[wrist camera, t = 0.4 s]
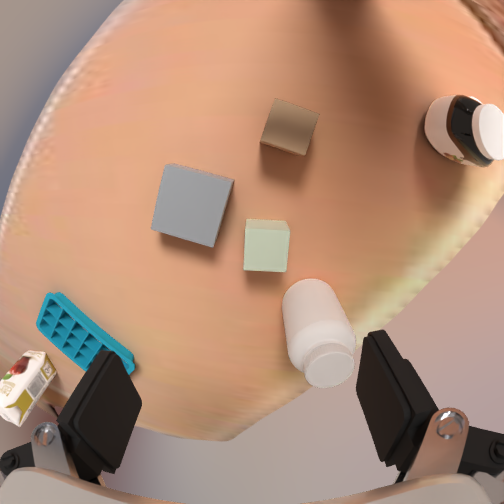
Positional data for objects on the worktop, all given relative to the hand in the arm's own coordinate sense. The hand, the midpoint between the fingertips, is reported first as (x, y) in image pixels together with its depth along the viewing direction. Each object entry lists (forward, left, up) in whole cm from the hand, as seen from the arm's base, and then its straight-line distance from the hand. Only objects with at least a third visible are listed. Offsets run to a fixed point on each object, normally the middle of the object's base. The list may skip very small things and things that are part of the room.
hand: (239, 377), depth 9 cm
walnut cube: (-12, +1, -28) cm, 30 cm away
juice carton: (+45, -36, -28) cm, 64 cm away
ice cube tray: (+30, -22, -28) cm, 47 cm away
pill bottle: (+9, +12, -28) cm, 32 cm away
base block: (0, -7, -28) cm, 29 cm away
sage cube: (+2, +3, -28) cm, 28 cm away
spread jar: (-24, +24, -28) cm, 44 cm away
